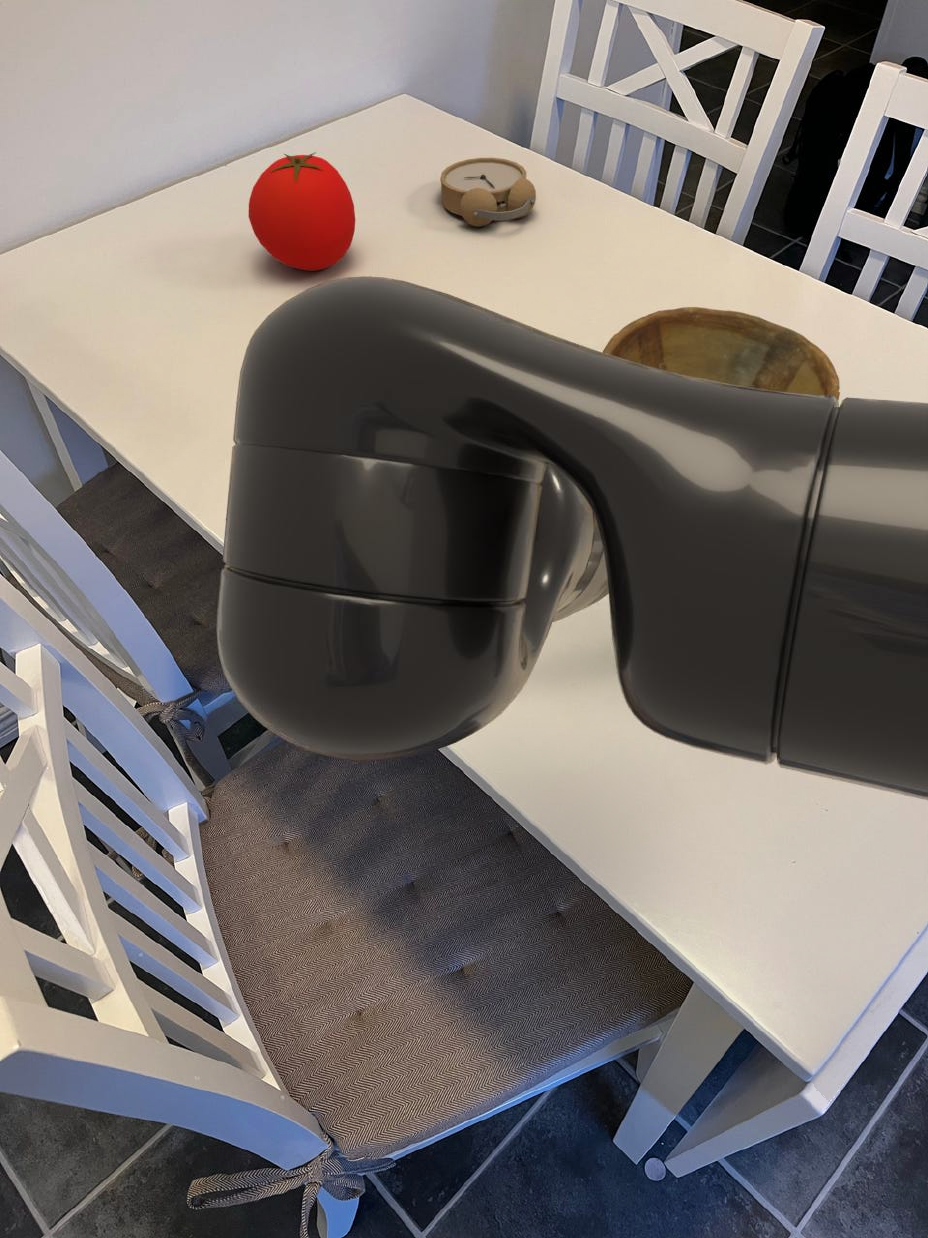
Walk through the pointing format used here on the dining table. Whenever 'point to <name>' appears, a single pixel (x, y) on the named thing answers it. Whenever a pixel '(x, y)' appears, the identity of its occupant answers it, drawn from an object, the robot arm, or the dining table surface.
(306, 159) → the tomato
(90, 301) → the dining table surface
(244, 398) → the robot arm
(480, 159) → the alarm clock
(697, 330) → the bowl
